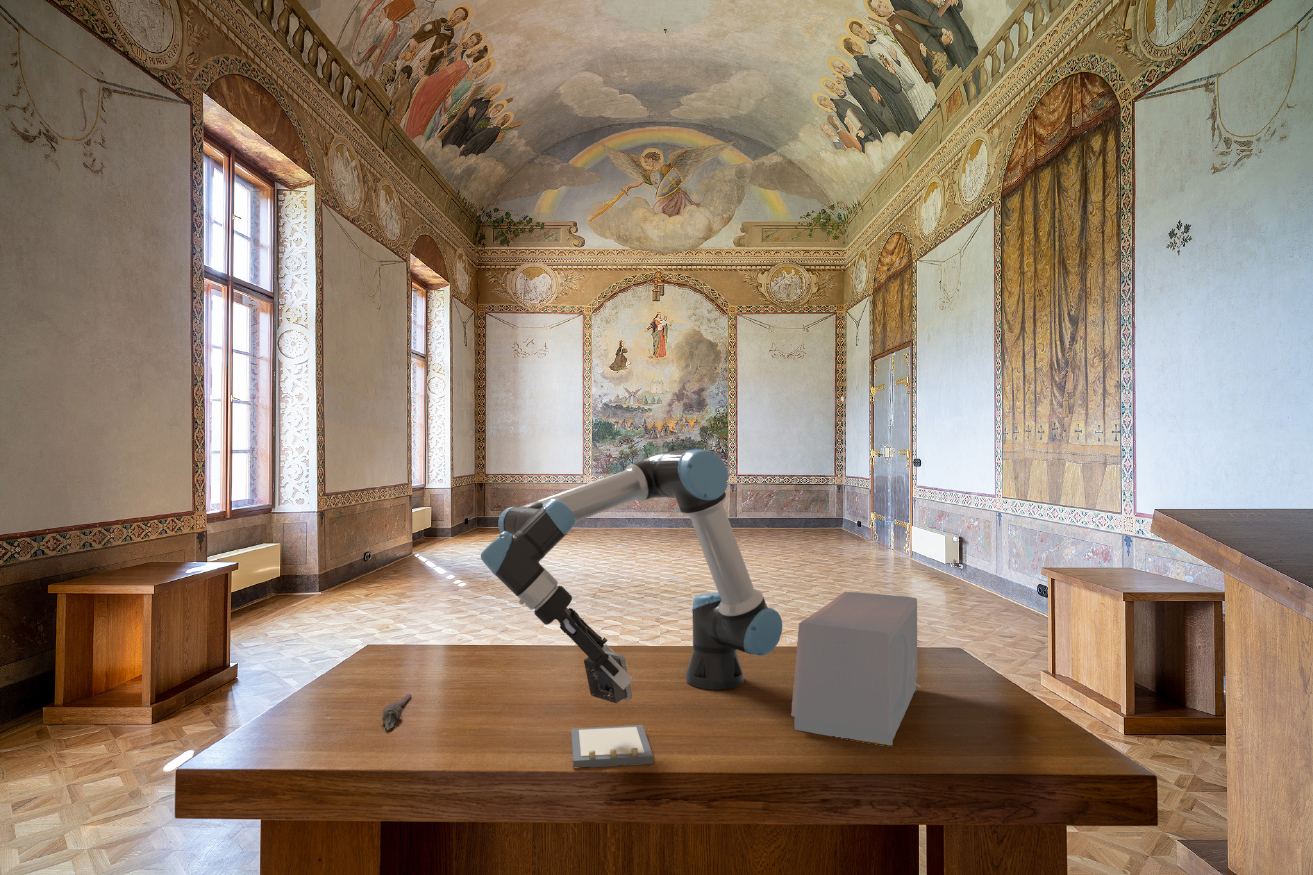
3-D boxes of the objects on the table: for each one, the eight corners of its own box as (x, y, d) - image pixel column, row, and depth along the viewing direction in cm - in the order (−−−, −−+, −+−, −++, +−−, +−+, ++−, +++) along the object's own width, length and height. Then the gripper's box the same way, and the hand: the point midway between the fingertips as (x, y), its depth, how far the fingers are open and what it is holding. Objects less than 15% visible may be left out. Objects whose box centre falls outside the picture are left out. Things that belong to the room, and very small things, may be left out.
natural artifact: (380, 740, 140) (369, 724, 140) (408, 700, 163) (398, 686, 163) (396, 728, 141) (385, 713, 141) (421, 690, 163) (412, 677, 163)
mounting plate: (642, 731, 142) (642, 719, 142) (653, 763, 126) (653, 749, 126) (571, 735, 139) (571, 722, 139) (573, 768, 124) (573, 754, 124)
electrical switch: (633, 700, 132) (630, 653, 132) (614, 708, 128) (611, 659, 129) (602, 691, 138) (599, 646, 139) (582, 698, 135) (580, 652, 135)
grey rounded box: (838, 677, 181) (838, 589, 182) (927, 691, 170) (926, 598, 171) (784, 732, 142) (784, 620, 143) (894, 755, 131) (893, 633, 132)
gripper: (533, 601, 142) (608, 675, 144) (530, 623, 121) (616, 709, 123) (559, 576, 143) (632, 650, 145) (560, 593, 122) (645, 679, 124)
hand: (625, 677), depth 134 cm, fingers closed on electrical switch, 8 cm apart
